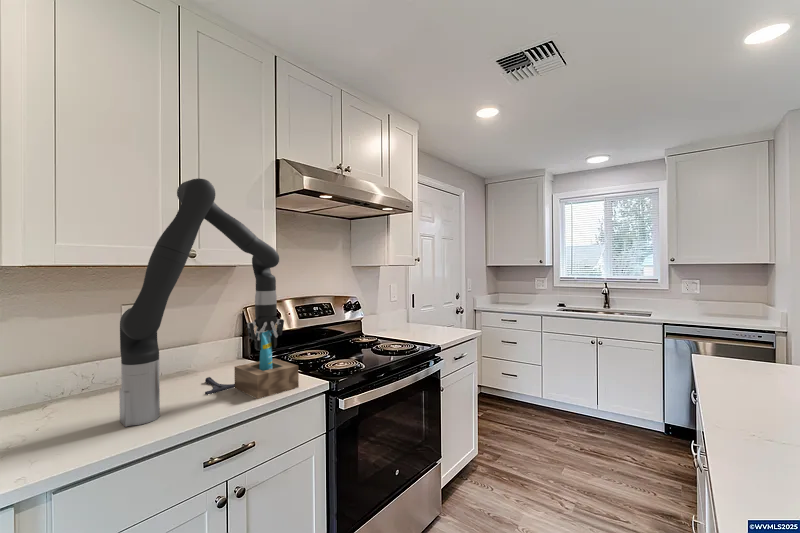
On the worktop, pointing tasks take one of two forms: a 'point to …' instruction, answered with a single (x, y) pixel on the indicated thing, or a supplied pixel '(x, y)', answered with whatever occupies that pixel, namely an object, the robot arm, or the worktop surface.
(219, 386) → the bracket
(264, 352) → the tube
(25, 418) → the worktop surface
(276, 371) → the socket block
